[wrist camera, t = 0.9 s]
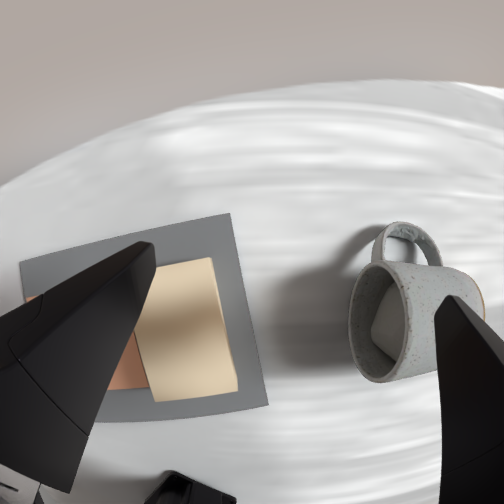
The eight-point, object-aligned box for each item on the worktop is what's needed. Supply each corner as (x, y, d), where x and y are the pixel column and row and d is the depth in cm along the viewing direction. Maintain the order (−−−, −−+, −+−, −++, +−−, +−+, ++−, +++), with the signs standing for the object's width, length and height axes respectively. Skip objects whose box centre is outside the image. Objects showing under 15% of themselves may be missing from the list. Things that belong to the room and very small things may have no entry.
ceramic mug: (427, 352, 21) (487, 375, 13) (343, 363, 20) (392, 402, 13) (432, 228, 22) (496, 213, 14) (348, 221, 21) (402, 198, 13)
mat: (268, 402, 20) (269, 405, 19) (63, 418, 19) (61, 421, 18) (229, 213, 20) (229, 212, 20) (22, 262, 19) (18, 261, 19)
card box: (237, 377, 19) (237, 391, 17) (162, 388, 19) (155, 402, 17) (211, 258, 20) (208, 257, 17) (134, 273, 19) (122, 274, 17)
